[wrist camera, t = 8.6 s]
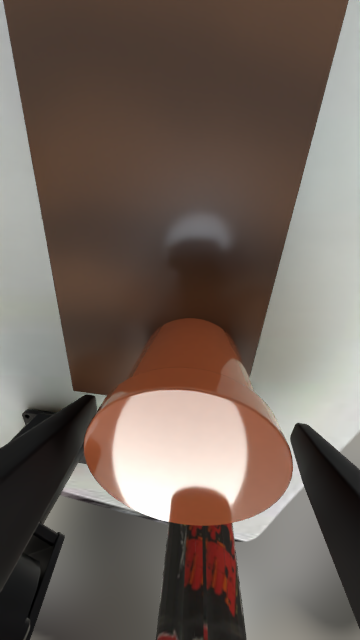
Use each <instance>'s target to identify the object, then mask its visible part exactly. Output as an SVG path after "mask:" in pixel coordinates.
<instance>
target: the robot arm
mask: <svg viewBox="0 0 360 640" xmlns="http://www.w3.org/2000/svg"><path fill="white" fill-rule="evenodd" d="M96 411H97V406H96V398H95V396H93V395H84V396H82V397H81V398H79V399H78V400H76V401H74V402H73V403H71V404H70V405H68V406H67V407H65V408H63V409H62V410H60V411H59V412H57V413H52V412H45V411H38V410H31V409H27V410H26V411H25V412H24V413H23V414H22V416H23V419H24V422H25V425H26V426H25V427H24V428H23V429H22V430H21V431H20V432H19V433H18V434H17V435H16V436H15V437H14V438H13V439H12V440H11V441H10V442H9V443H8V444H6V445H5V446H3V447H2V448H0V640H30V637H31V635H32V632H33V629H34V626H35V623H36V620H37V618H38V614H39V612H40V609H41V606H42V603H43V600H44V597H45V594H46V591H47V588H48V585H49V582H50V579H51V576H52V573H53V570H54V567H55V564H56V561H57V558H58V555H59V553H60V550H61V547H62V544H63V541H64V538H65V536H64V535H63V534H61V533H60V532H58V533H56V532H55V531H53V530H51V529H49V528H48V527H46V526H45V525H43V524H44V522H45V520H46V518H47V516H48V515H49V513H50V511H51V510H52V508H53V506H54V504H55V502H56V501H57V499H58V497H59V495H60V494H61V492H62V490H63V488H64V487H65V485H66V483H67V481H68V480H69V478H70V476H71V474H72V472H73V471H74V469H75V467H76V465H77V464H78V463H84V464H87V463H86V459H85V456H84V447H83V446H84V437H85V433H86V430H87V427H88V425H89V424H90V422H91V420H92V418H93V417H94V415H95V414H96ZM290 440H291V444H292V448H293V451H294V454H295V458H296V461H297V465H298V468H299V471H300V475H301V478H302V481H303V484H304V487H305V490H306V492H307V495H308V497H309V500H310V503H311V505H312V508H313V510H314V513H315V515H316V518H317V521H318V523H319V526H320V528H321V531H322V533H323V536H324V539H325V541H326V544H327V546H328V549H329V551H330V554H331V556H332V559H333V562H334V564H335V567H336V569H337V572H338V575H339V577H340V580H341V582H342V585H343V587H344V590H345V593H346V595H347V597H348V600H349V603H350V605H351V608H352V611H353V613H354V616H355V618H356V621H357V623H358V626H359V628H360V470H359V469H358V468H357V467H356V466H355V465H353V463H351V462H350V461H349V460H348V459H347V458H346V457H344V456H343V455H342V454H341V453H340V452H339V451H338V450H336V449H335V448H334V447H333V446H332V445H331V444H330V443H328V442H327V441H326V440H325V439H324V438H323V437H321V436H320V435H319V434H318V433H317V432H316V431H315V430H313V429H312V428H311V427H310V426H309V425H307V424H302V423H297V424H295V427H294V429H293V431H292V434H291V437H290Z"/></svg>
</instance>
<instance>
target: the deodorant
mask: <svg viewBox="0 0 360 640" xmlns="http://www.w3.org/2000/svg"><path fill="white" fill-rule="evenodd" d="M156 640H246V632H245V624H244V616H243V607H242V599H241V592H240V583H239V575H238V566H237V558H236V550H235V542H234V534H233V526H232V523H228V524H221V525H209V526H198V525H185V524H178V523H173V522H169V526H168V535H167V544H166V553H165V563H164V571H163V580H162V589H161V598H160V608H159V617H158V626H157V635H156Z"/></svg>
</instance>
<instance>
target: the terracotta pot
mask: <svg viewBox="0 0 360 640" xmlns="http://www.w3.org/2000/svg"><path fill="white" fill-rule="evenodd" d="M83 447H84V456H85V459H86V463H87V465H88V468H89V470H90V472H91V473H92V475H93V476H94V478H95V479H96V481H97V482H98V483H99V484H100V485H101V486H102V487H103V488H104V489H105V490H106V491H107V492H108V493H109V494H110V495H112V496H113V497H114V498H115V499H117V500H118V501H120V502H121V503H123V504H124V505H126V506H128V507H130V508H132V509H134V510H136V511H138V512H140V513H142V514H145V515H148V516H150V517H153V518H156V519H160V520H163V521H168V522H173V523H178V524H185V525H198V526H209V525H221V524H228V523H233V522H237V521H241V520H244V519H247V518H250V517H253V516H255V515H257V514H259V513H261V512H263V511H265V510H266V509H268V508H270V507H271V506H272V505H273V504H274V503H276V502H277V501H278V500H279V499H280V498H281V496H282V495H283V494H284V493H285V491H286V489H287V488H288V486H289V483H290V481H291V478H292V471H293V462H292V455H291V451H290V448H289V445H288V443H287V441H286V439H285V437H284V435H283V432H282V430H281V428H280V426H279V424H278V422H277V420H276V418H275V416H274V414H273V412H272V411H271V409H270V408H269V407H268V405H267V404H266V403H265V402H264V401H263V400H262V399H261V398H260V397H259V396H258V395H257V394H256V393H255V392H254V389H253V387H252V384H251V382H250V379H249V377H248V374H247V371H246V369H245V366H244V364H243V361H242V359H241V356H240V354H239V351H238V349H237V346H236V344H235V342H234V341H233V339H232V338H231V337H230V335H229V334H228V333H227V332H226V331H224V330H223V329H222V328H221V327H219V326H217V325H216V324H213V323H211V322H209V321H205V320H202V319H196V318H184V319H178V320H174V321H171V322H168V323H166V324H164V325H163V326H161V327H160V328H158V329H157V330H156V331H155V332H154V333H153V334H152V335H151V337H150V338H149V340H148V341H147V343H146V345H145V347H144V349H143V350H142V352H141V354H140V356H139V358H138V359H137V361H136V363H135V365H134V367H133V368H132V370H131V372H130V374H129V376H128V377H127V379H126V380H125V381H124V382H122V383H121V384H119V385H118V386H117V387H115V388H114V389H113V390H112V391H111V392H110V393H109V394H108V396H107V397H106V398H105V399H104V401H103V403H102V404H101V406H100V407H99V409H98V410H97V412H96V414H95V415H94V417H93V418H92V420H91V422H90V424H89V425H88V427H87V430H86V433H85V437H84V446H83Z"/></svg>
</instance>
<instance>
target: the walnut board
mask: <svg viewBox="0 0 360 640" xmlns="http://www.w3.org/2000/svg"><path fill="white" fill-rule="evenodd" d="M348 1H349V0H3V3H4V8H5V14H6V19H7V25H8V30H9V36H10V41H11V47H12V53H13V58H14V64H15V69H16V75H17V80H18V86H19V91H20V97H21V103H22V108H23V114H24V119H25V125H26V130H27V136H28V141H29V147H30V152H31V158H32V164H33V169H34V175H35V180H36V186H37V191H38V197H39V202H40V208H41V214H42V219H43V225H44V230H45V236H46V241H47V247H48V252H49V258H50V264H51V269H52V275H53V280H54V286H55V291H56V297H57V302H58V308H59V313H60V319H61V325H62V330H63V336H64V341H65V347H66V352H67V358H68V363H69V369H70V375H71V380H72V386H73V390H74V391H79V392H86V393H94V394H101V395H108V394H109V393H110V392H111V391H112V390H113V389H114V388H115V387H117V386H118V385H119V384H121V383H122V382H124V381H125V380H126V379H127V377H128V376H129V374H130V372H131V370H132V368H133V367H134V365H135V363H136V361H137V359H138V358H139V356H140V354H141V352H142V350H143V349H144V347H145V345H146V343H147V341H148V340H149V338H150V337H151V335H152V334H153V333H154V332H155V331H156V330H157V329H158V328H160V327H161V326H163V325H164V324H166V323H168V322H171V321H174V320H178V319H184V318H196V319H202V320H205V321H209V322H211V323H213V324H216V325H217V326H219V327H221V328H222V329H223V330H224V331H226V332H227V333H228V334H229V335H230V337H231V338H232V339H233V341H234V342H235V344H236V346H237V349H238V351H239V354H240V356H241V359H242V361H243V364H244V366H245V369H246V371H247V374H248V377H250V373H251V369H252V366H253V362H254V358H255V354H256V350H257V347H258V343H259V339H260V335H261V331H262V328H263V324H264V320H265V316H266V312H267V309H268V305H269V301H270V297H271V293H272V290H273V286H274V282H275V278H276V274H277V271H278V267H279V263H280V259H281V255H282V252H283V248H284V244H285V240H286V236H287V233H288V229H289V225H290V221H291V217H292V214H293V210H294V206H295V202H296V198H297V195H298V191H299V187H300V183H301V179H302V175H303V172H304V168H305V164H306V160H307V156H308V153H309V149H310V145H311V141H312V137H313V134H314V130H315V126H316V122H317V118H318V115H319V111H320V107H321V103H322V99H323V96H324V92H325V88H326V84H327V80H328V77H329V73H330V69H331V65H332V61H333V58H334V54H335V50H336V46H337V42H338V39H339V35H340V31H341V27H342V23H343V20H344V16H345V12H346V8H347V4H348Z"/></svg>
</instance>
